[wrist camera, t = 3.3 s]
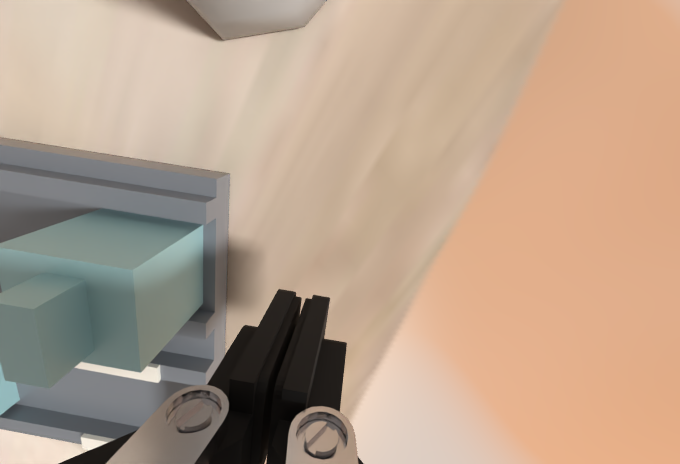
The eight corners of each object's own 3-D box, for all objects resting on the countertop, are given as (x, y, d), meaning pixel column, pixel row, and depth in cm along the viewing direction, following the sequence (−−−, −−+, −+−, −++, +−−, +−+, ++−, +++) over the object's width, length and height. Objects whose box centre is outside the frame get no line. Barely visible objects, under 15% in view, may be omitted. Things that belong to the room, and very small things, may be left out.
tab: (102, 208, 13) (-78, 270, 8) (203, 224, 13) (87, 299, 8) (111, 287, 14) (-42, 387, 9) (203, 303, 14) (103, 414, 9)
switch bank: (-124, 118, 14) (-264, 118, 11) (229, 173, 13) (187, 190, 10) (-39, 387, 19) (-119, 440, 16) (222, 436, 18) (192, 500, 15)
